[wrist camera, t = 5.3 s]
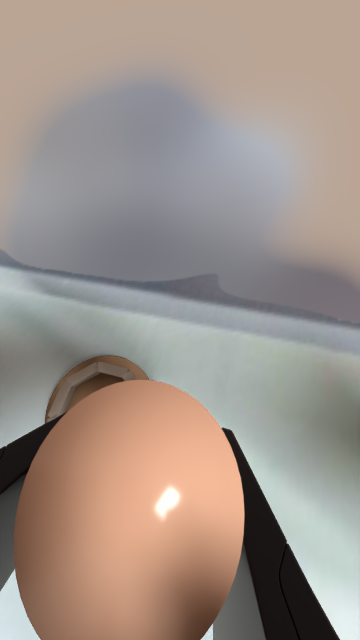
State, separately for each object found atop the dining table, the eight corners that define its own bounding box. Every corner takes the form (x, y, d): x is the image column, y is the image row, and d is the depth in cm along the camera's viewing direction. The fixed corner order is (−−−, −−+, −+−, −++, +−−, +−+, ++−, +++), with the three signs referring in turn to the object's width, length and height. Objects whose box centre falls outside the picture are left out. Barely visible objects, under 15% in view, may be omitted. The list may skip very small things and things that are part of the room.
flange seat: (71, 500, 18) (58, 511, 16) (38, 390, 21) (25, 389, 20) (175, 428, 20) (174, 430, 18) (128, 340, 24) (124, 335, 22)
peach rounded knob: (190, 485, 13) (223, 741, 3) (121, 462, 13) (-41, 616, 4) (206, 406, 14) (255, 408, 5) (145, 389, 15) (80, 359, 5)
